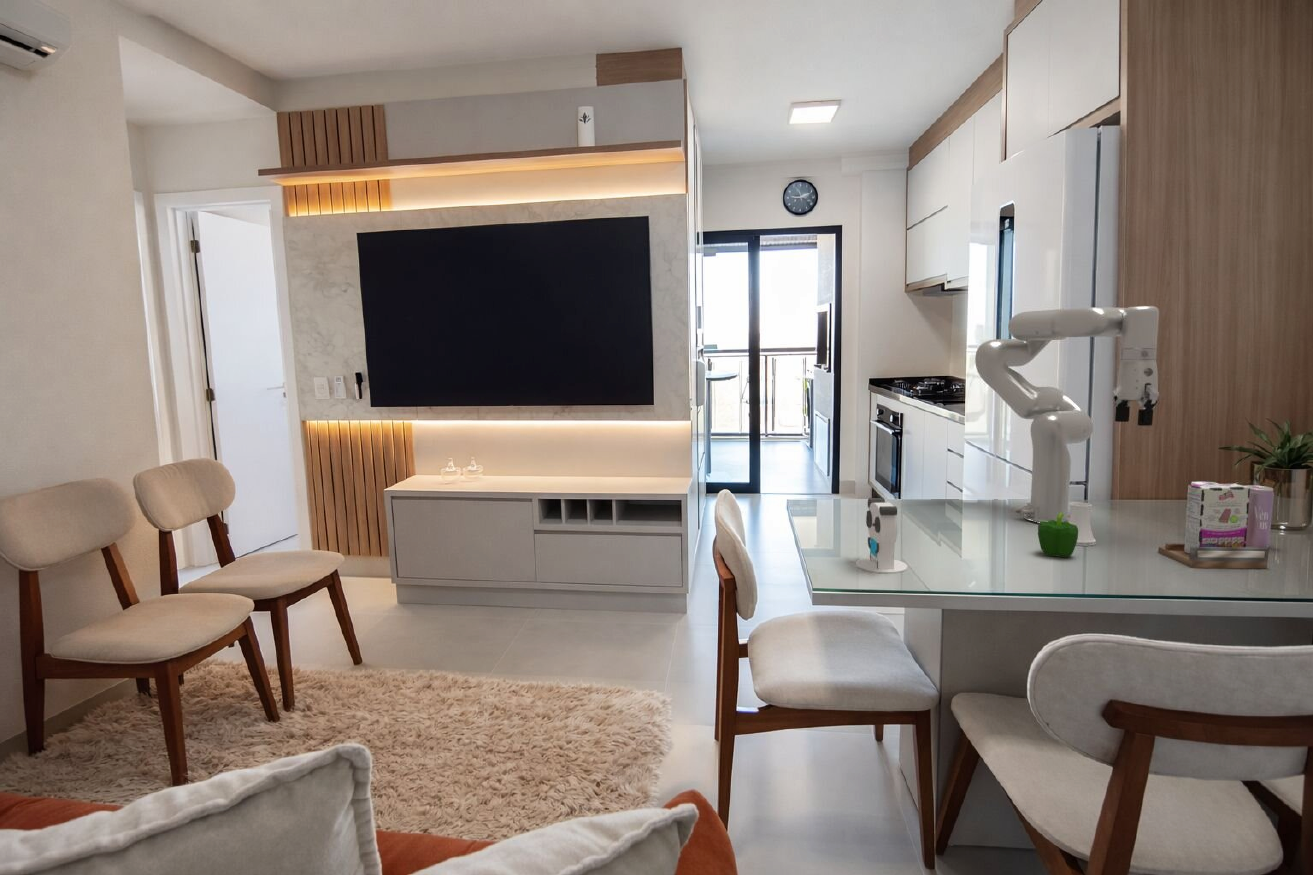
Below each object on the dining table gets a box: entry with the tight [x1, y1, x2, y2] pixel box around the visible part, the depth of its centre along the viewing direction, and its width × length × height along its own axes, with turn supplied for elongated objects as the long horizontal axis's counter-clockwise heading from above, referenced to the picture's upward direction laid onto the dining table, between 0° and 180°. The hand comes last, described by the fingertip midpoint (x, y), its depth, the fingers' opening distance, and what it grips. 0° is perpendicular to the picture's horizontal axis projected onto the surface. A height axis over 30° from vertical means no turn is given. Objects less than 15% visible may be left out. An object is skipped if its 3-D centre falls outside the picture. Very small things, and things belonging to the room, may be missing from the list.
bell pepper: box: [1037, 513, 1078, 558], centre depth 169 cm, size 8×8×10 cm
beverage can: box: [1245, 484, 1275, 549], centre depth 173 cm, size 6×6×15 cm
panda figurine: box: [855, 497, 909, 575], centre depth 162 cm, size 12×11×15 cm
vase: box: [1069, 501, 1097, 547], centre depth 180 cm, size 8×8×10 cm
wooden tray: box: [1157, 542, 1270, 569], centre depth 163 cm, size 16×12×4 cm
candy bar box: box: [1183, 483, 1250, 555], centre depth 162 cm, size 11×5×16 cm, turn 92°
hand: (1133, 423), depth 178 cm, fingers open, 9 cm apart
